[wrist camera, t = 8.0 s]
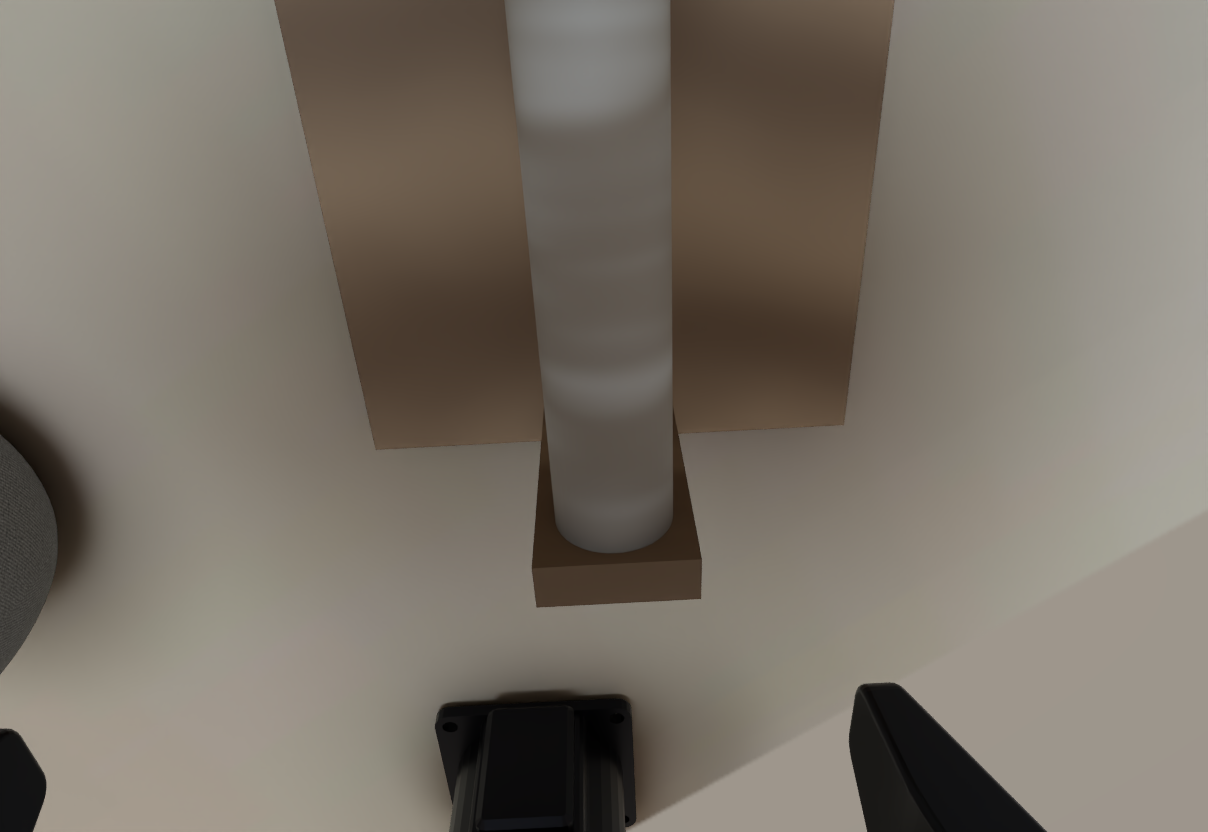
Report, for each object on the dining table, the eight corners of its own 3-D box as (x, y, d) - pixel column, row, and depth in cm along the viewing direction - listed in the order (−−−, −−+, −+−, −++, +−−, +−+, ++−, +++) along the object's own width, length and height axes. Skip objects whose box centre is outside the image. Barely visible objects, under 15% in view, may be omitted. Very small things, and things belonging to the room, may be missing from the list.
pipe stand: (833, 405, 22) (927, 587, 16) (383, 429, 22) (311, 618, 16) (944, -599, 13) (1262, -1050, 7) (170, -555, 13) (-185, -961, 7)
